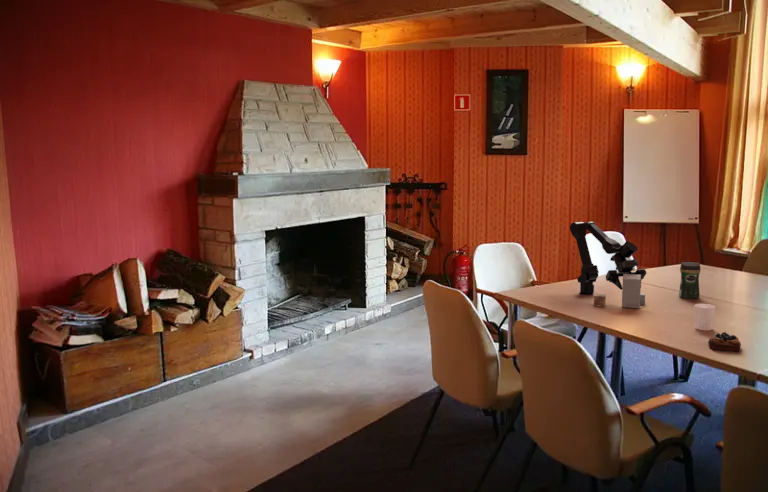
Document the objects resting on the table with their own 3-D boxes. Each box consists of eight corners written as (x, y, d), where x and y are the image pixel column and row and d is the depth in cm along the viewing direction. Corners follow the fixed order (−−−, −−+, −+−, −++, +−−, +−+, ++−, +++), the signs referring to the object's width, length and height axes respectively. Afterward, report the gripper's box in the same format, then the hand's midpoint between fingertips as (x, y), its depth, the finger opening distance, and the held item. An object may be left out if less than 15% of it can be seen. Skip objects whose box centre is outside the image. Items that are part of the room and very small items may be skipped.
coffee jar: (698, 296, 327) (700, 261, 324) (700, 299, 320) (702, 263, 317) (677, 295, 330) (679, 260, 327) (679, 298, 323) (681, 263, 320)
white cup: (689, 326, 272) (690, 303, 270) (706, 325, 272) (708, 303, 271) (700, 331, 264) (701, 308, 263) (717, 330, 265) (719, 307, 263)
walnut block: (593, 305, 311) (594, 295, 311) (594, 303, 316) (595, 293, 315) (604, 306, 309) (604, 296, 309) (605, 304, 314) (605, 294, 313)
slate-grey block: (633, 304, 313) (634, 294, 312) (634, 301, 318) (634, 292, 317) (644, 305, 311) (644, 295, 310) (644, 302, 316) (645, 293, 315)
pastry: (709, 351, 239) (710, 336, 238) (707, 342, 250) (708, 328, 249) (742, 354, 235) (743, 339, 234) (738, 345, 245) (739, 330, 245)
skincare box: (639, 303, 308) (642, 274, 303) (639, 309, 302) (641, 279, 297) (621, 302, 312) (623, 272, 307) (620, 307, 305) (622, 277, 300)
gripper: (608, 254, 308) (617, 280, 298) (645, 252, 309) (655, 278, 299) (601, 267, 317) (610, 293, 307) (637, 266, 318) (647, 291, 308)
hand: (631, 288), depth 305 cm, fingers closed on skincare box, 9 cm apart
